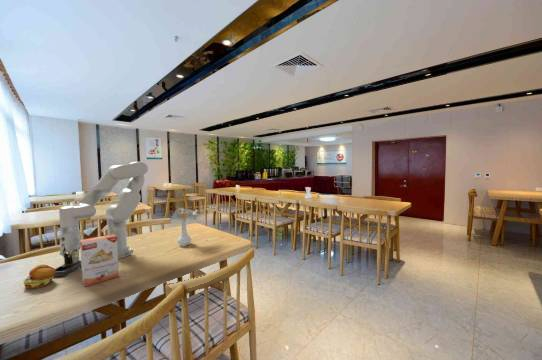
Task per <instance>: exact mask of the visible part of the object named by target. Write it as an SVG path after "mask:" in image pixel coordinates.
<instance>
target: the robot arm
mask: <svg viewBox="0 0 542 360" xmlns="http://www.w3.org/2000/svg"><path fill="white" fill-rule="evenodd" d="M148 170H149V167H148V165H147V164H146V163H145V162H143V161H132V162H130V163H128V164H127V163H126V164H120V165H119V164H118V165H117V164H116V165H115V164H113V165H111V166H110V167H108V169H107V170H106V171H105V172H104V174H103V175H101V177H100V178H99V180H98V181H97V182H96V184H95V185H94V186H93V187H91V189H90V190H89V191H88V192H87V193H86V194H85V195H84V196H83V197H82V199H81V200H80V201H79V202H78V204H77V205H67V206H62V207H60V208H59V210H58V211H59V212H58V213H59V228H60V237H59V249H60V252H59V256H62V257H63V259H64V258H65V264H72V257H70V256H71V251H79V252H80V250H81V249H80V240H83V237H82V233H81V229H80V228H79V226H80V225H79V219H90V218H92V217H95V215H96V213H97V209H96V207H95V206H96V205H97V203H99V202H100V200H102V199H103V198H104V197H106V196H108V195H109V194H110V193H111V192H112V191H113V190H114V188H116V186H117V184H118V183H119V182H120V180H121V181H122V180H123V181H124V180H128V181H127V183H126V184H125V185H124V187H123V188H122V190H121V191H120V192H119V194H118V196H117V197H118V198H117V201H119V203H118V204H115V203H114V204H111V205H110V206H108V207H107V209H106V210H105V219H106V226H107V235H112V234H114V235H116V236H117V246H118V260H120V259H123V258H126V257H129V256H130V255H131V254H133V253H134V248H130V246H128V240H127V239H128V238H127V237H128V235H127V221H128V220H129V219H130V218H131V216H132V215H133V213H134V212H135V211H136V209H137V207H138V205H140V202H141V198H142V197H141V194H140V191H141V189H142V188H143V186H144V184H145V175H146V174H147V173H148ZM67 252H68V254H67Z"/></svg>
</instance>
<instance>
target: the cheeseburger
mask: <svg viewBox="0 0 542 360" xmlns="http://www.w3.org/2000/svg"><path fill="white" fill-rule="evenodd" d="M55 269H56V268H54V267H52V266H49V265H48V264H40V265H36V266H35V267H33V268H31V270H29V272H28V274H29V275H28V276H27V277H26V278H25V279H24V280H23V285H24V287H25V288H26V289H30V290H31V289H32V290H33V289H38V288H42V287H44V286H47V285H49V284H51V283H52V280H53V279H55V277H53V276H55V274H56V270H55Z"/></svg>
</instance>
